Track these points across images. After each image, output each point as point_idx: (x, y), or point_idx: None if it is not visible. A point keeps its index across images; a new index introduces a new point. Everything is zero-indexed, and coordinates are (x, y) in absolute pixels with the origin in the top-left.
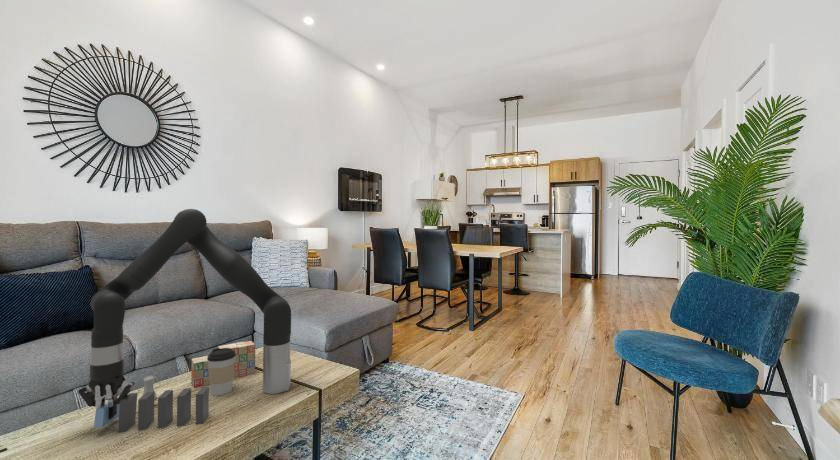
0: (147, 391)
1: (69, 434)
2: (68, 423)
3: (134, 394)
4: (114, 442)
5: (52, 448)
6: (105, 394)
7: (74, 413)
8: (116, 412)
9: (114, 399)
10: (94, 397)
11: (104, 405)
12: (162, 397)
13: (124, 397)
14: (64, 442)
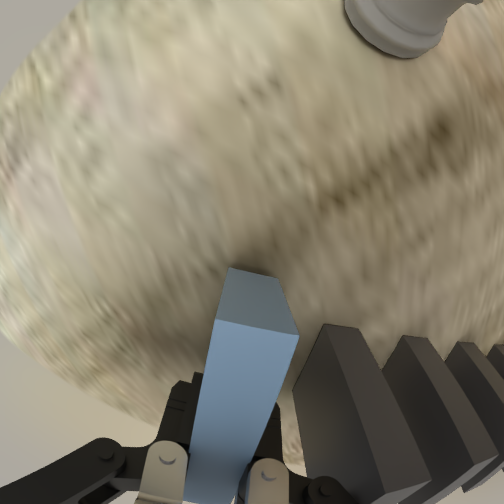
0: (426, 13)
1: (81, 310)
2: (24, 180)
3: (407, 493)
4: (291, 436)
5: (95, 386)
6: None
7: (19, 68)
8: (279, 415)
9: (264, 495)
10: (92, 485)
11: (200, 469)
12: (475, 487)
13: (340, 502)
14: (106, 368)
